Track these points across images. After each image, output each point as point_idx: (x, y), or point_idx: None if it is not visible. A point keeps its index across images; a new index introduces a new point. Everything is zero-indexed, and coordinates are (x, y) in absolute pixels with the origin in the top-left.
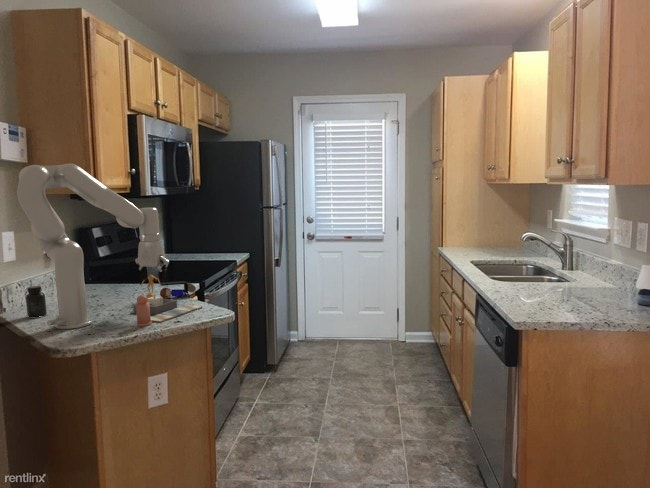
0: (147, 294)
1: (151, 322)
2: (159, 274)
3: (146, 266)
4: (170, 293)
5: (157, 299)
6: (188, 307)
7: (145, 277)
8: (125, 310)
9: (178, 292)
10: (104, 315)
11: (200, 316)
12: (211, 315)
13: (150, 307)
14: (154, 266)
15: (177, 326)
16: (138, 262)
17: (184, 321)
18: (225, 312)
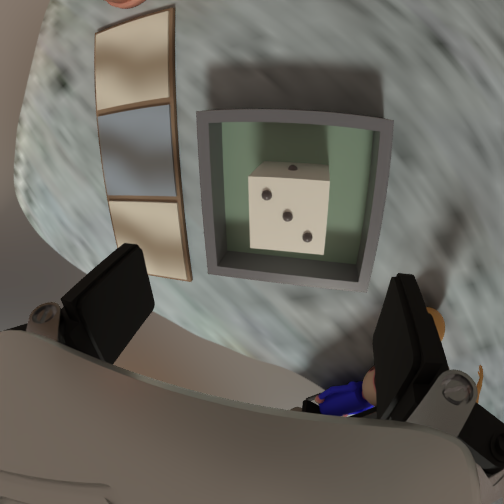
0: (438, 333)
1: (109, 2)
2: (82, 279)
3: (205, 396)
4: (362, 385)
5: (250, 199)
6: (150, 245)
7: (382, 326)
8: (453, 146)
9: (336, 398)
10: (475, 41)
11: (52, 166)
12: (41, 189)
13: (237, 109)
14: (22, 331)
15: (39, 50)
16: (495, 487)
17: (50, 96)
18: (42, 231)
